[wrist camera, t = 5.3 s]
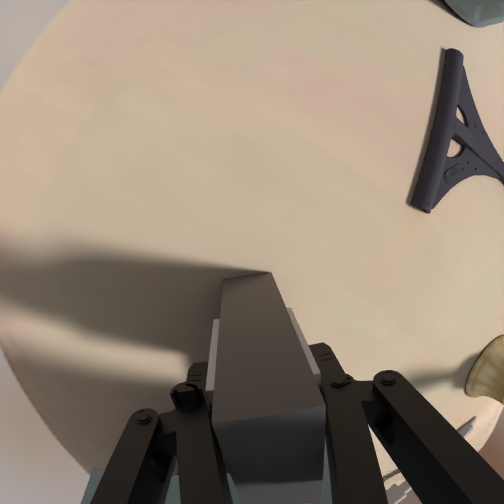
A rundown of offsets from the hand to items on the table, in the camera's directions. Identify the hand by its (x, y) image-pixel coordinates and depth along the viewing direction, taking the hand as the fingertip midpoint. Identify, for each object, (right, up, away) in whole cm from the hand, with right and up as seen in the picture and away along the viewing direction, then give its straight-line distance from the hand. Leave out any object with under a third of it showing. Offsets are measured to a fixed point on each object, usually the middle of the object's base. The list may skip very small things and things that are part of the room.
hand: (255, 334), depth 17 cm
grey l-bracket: (+1, -6, +4) cm, 7 cm away
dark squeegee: (+20, +12, +2) cm, 24 cm away
